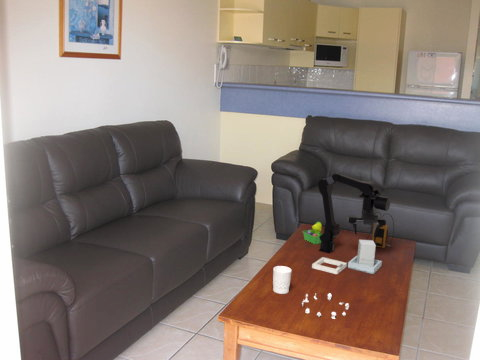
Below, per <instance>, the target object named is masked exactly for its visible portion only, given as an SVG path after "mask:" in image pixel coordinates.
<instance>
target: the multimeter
mask: <svg viewBox="0 0 480 360" xmlns="http://www.w3.org/2000/svg"><path fill="white" fill-rule="evenodd" d="M377 213H378V214H380V215H382V213H381V212H380V211H376V212H375V213H373V215H376V214H377ZM384 215H386V213H384V214H383V216H381V218H384ZM388 215H389V216H390V217H391V220H392V223H393V227H395V223H394V218H393V217H392V215H391V214H389V213H388ZM374 228H375V223H373V225H371V231H370V233H369V234H368V237H367V239H366V240H369V237H370V235H371V232H372V235H373V234H374ZM388 229H389V228H388V224H386V226H383V227H380V228H379V230H378V231H377V233H376V235H375V237H373V236H372V239H371V240H373V241H374V243H375V245H376V247H377V248H382V249H385V247H386V246H388V247H390V248H391V249H392V248H393V247H392V245H391V244H392V242H393V240H391V242H390V245H389V244H387V241H388V235H389V230H388ZM372 230H373V231H372ZM394 233H395V228H393V232H392V234H394ZM391 237H392V238H391V239H393V238H394V235H392V236H391Z"/></svg>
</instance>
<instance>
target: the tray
mask: <svg viewBox="0 0 480 360" xmlns="http://www.w3.org/2000/svg"><path fill="white" fill-rule="evenodd" d="M382 264H383V260H379V259H375V258H374V266H373V267H370V266H365V265H361V264H357V255H356V256H354V257H353V258H351V260H349V261H348V262H347V268H348V269H351V270H354V271H360V272H362V273H367V274H371V275H374V274H376V272H378V270H379V269H380V268H382V266H383V265H382Z"/></svg>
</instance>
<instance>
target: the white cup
mask: <svg viewBox="0 0 480 360" xmlns="http://www.w3.org/2000/svg"><path fill="white" fill-rule="evenodd" d="M272 271H273V272H272V287H273V288H272V290H273V292H274V293H276V294H280V295H284V294H288V293H289V289H290V284H291V277H292V272H293V270H292V269H291V268H290V267H288V266H284V265H277V266H273V270H272Z"/></svg>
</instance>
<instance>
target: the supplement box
mask: <svg viewBox="0 0 480 360" xmlns="http://www.w3.org/2000/svg"><path fill="white" fill-rule="evenodd" d="M375 255H376V245H375V243H374V241H373V240H372V239H358V246H357V255H356V256H357V264H361V265H365V266H370V267H373V266H374V259H375V257H376V256H375Z"/></svg>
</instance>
